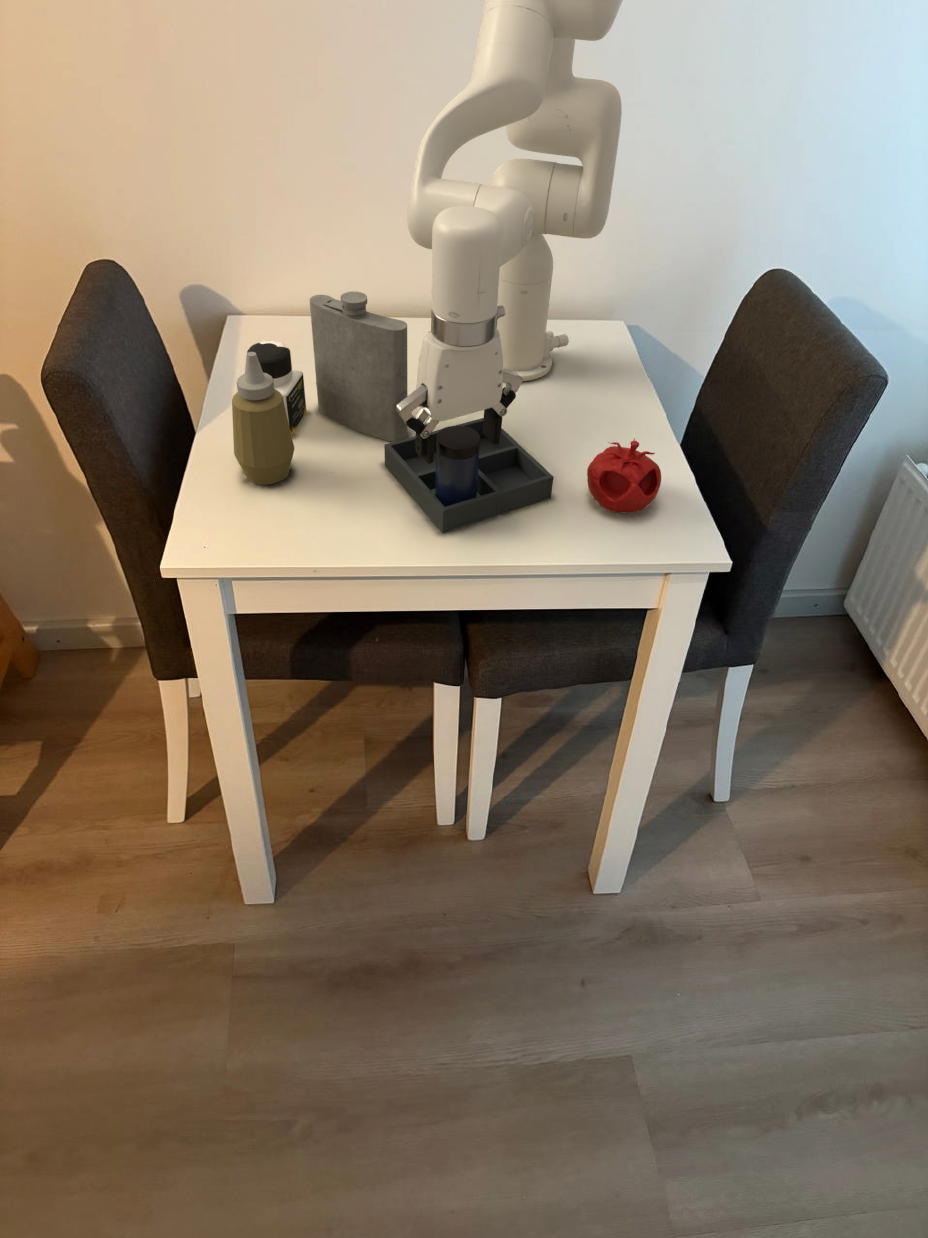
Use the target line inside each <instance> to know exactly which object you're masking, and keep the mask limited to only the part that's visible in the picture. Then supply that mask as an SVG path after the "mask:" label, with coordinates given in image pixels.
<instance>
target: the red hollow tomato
mask: <svg viewBox="0 0 928 1238" xmlns="http://www.w3.org/2000/svg"><path fill="white" fill-rule="evenodd" d="M635 439H636V437H635V438H633V440H632V441H630V446H629V447H624V446H621V444H620V443H619V442H617V441H616V442H614V441H613V442H610V441H607V443H608V444H611V445H610V446H609V447H606V448H605V449H604V450H603V451H602V452H600V453H598V454H597V455H595V456H594V458H593V459H592V461H591V462H590V463H589V465H588V467H587V469H586V476H587V479H586V480H587V486H588V491H589V493H590V495H591V496H592V498H593V499H594V501H596V502H597V504H598V506H600V507H601V508H603V509H605V510H606V511H608V512H610V513H616V514H631V513H637V512H640V511H642V510H644V509H646V508H647V507H648V506H650V505H651V503H652V502H653V501H654V500H655V499H656V497H657V496H658V492H659V491H660V487H661V485H662V484H661V483H662V471H661V468H660V467H659V465H658V463H656V462H655V461H654V460H653V459H651V458H650V457H649V456H647V455H651V456H653V455H655V454H656V452H651V451H647V450H644V451H642V452H641V451H639V450H637V449H639V447H640V442H639V441H637V440H635Z"/></svg>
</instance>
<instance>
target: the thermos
mask: <svg viewBox="0 0 928 1238" xmlns="http://www.w3.org/2000/svg"><path fill="white" fill-rule="evenodd" d="M440 429H441V430H440ZM440 429H439V430H440V431H439V432H438V433H437V436H436V472H435V496H436V497H437V499H438V500H439V501H440V502H441V503H442V504H443V505H444V506H445V507H447V506H450V505H453V504H456V503H460V502H463V501H466V500H470V499H473V498H476V497H477V484H478V468H479V453H480V435H479V434H478V432H476V431H475V430H474V429H472V428H469V427H465V426H455V425H449V426H446V427H443V428H440Z"/></svg>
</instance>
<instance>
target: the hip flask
mask: <svg viewBox="0 0 928 1238" xmlns="http://www.w3.org/2000/svg"><path fill="white" fill-rule="evenodd" d="M367 305H368V296H367V294H366V293H364V292H362V291H347V292H344V293H342V294H341V295H340V300H339V299H336V298H333V297H332V296H330V295H327V294H315V295H312V296H311V297H310V298H309V312H310V320H311V322H310V323H311V334H312V346H313V347H312V348H313V359H314V373H315V384H316V397H317V406H318V412H319V413H320V414H321V415H323V416H325V417H327V418H328V419H330V420H332V421H334V422H336V423H338V424H340V425H342V426H344V427H347V428H349V429H351V430H354V431H357V432H359V433H362V434H364V435H367V436H371V437H373V438H377V439H380V440H383V441H388V442H395V441H399V440H403V439H406V438H409V437H408V428H409V427H408V426H407V425H406V424H405V423H404V422H403V420H402V418H401V417H400V415H399V414H398V412H397V411H396V409H395V408H396V405H397V404H398V403H400V402H401V401H402V400H404V399H405V398H406V397H407V396H408V323H407V322H406V321H404V320H401V319H396V318H393V317H389V316H388V317H387V316H384V315H380V314H376V313H373V312H370V311H367Z"/></svg>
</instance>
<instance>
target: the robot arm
mask: <svg viewBox="0 0 928 1238" xmlns="http://www.w3.org/2000/svg"><path fill="white" fill-rule="evenodd" d="M623 1H624V0H484V4H483V10H482V13H481V20H480V25H479V29H478V30H479V32H478V36H477V41H476V47H475V53H474V58H473V62H472V63H473V64H472V68H471V69H472V70H471V75H470V79H469V83H468V84H467V85H466V86H465V88H463V90H461V91H460V92H459V93H457V95H456V96H454V97H453V98H452V99H451V100H449V102H448V103H447V104H446V105H445V106H444V107H443V108H442V109H441V110H440V112H439V113H438V114H437V115H436V117H435V118H434V119H433V121H432V122H431V124H430V125H429V127H428V128H427V130H426V132H425V133H424V135H423V137H422V140H421V142H420V144H419V147H418V151H417V153H416V159H415V163H414V168H413V174H412V179H411V185H410V190H409V196H408V203H407V214H406V215H407V219H406V221H407V226H408V227H407V228H408V232H409V235H410V237H411V238H412V240H413V241H414V242H415V243H416V244H417V245H418V246H420V247H422V248H425V249H427V250H431V307H430V308H431V309H430V311H431V312H430V313H431V314H430V319H431V320H430V331H427V332H425V333H424V335H423V339H422V343H421V347H420V351H419V356H418V365H417V372H416V373H417V374H416V385H415V386H416V388H415V390H413V391H412V392H411V393H410V394H409V395H407V397H406V398H405V399H404V400H402V401H401V402H400V403H398V404H397V405H396V408H395V409H396V411H397V412H398V414H399V415H400V417H401V418H402V420H403V422H404V423H405V424H406V425H407V426H408V428H409V429H410V430H412V431H413V432H414V433H415V436H416V452H417V454H418V455H419V456H420V457H422V458H423V459H424V460H425V461H426V462H427V463H428V464H431V463H433V462H434V437H433V436H432V435H431V432H432V431H435V429H436V427H437V425H438V424H439V423H440V422H445V421H448V420H453V419H457V418H460V417H463V416H467V415H470V414H474V413H479V412H482V411H483V418H484V420H483V434H484V435H485V436H486V437H487V438H488V439H489V440H490V441H491V442H492V443H493V444H499V441H500V433H501V429H503V417H504V416H506V415H507V413H508V408H509V406H510V405H511V404H512V403H513V402H514V400H515V399H516V398H517V392H518V391H519V389H520V387H521V385H522V383H523V382H528V381H533V380H537V379H539V378H542V377H544V376H545V375H547V374H548V373H549V372H550V371H551V369H552V363H553V358H552V355H551V354H550V352H553V350H554V349H556V348H557V349H559V348H563V347H566V346H568V345H569V336H568V335H567V334H566V333H563V334H559V335H556V336H555V335H554V332H553V330H549V331H547V326H548V316H549V309H550V300H551V292H552V291H551V290H552V280H553V273H554V257H553V253H552V249H551V247H550V246H549V243H548V241H547V239H546V238H545V236H544V235H552V236H558V237H559V236H560V237H567V238H573V239H584V240H585V239H588V240H589V239H593V238H596V237H597V236H599V235H600V234H601V232H602V231H603V230H604V228H605V225H606V223H607V222H606V221H607V219H608V216H609V215H608V214H609V209H610V206H611V205H610V204H611V198H612V191H613V184H614V177H615V176H614V175H615V169H616V162H617V156H618V155H617V154H618V148H619V140H620V133H621V126H622V113H623V112H622V109H623V108H622V106H623V105H622V97H621V94H620V92H619V90H618V88H617V87H616V86H615V85H614V84H613V83H611V82H609V81H605V80H602V79H596V78H585V77H577V76H575V75H574V73H573V62H574V53H575V45H576V40H579V41H587V42H588V41H589V42H596V41H600V40H602V39H604V38H605V37H606V36H607V35H608V33H609V32H610V30H612V29H611V28H612V27H613V24H614V22H615V20H616V18H617V16H618V13H619V10H620V9H621V5H622V3H623ZM503 127H505V131H506V137H507V140H508V142H510V144H511V145H512V146H514V147H515V148H517V149H519V150H523V151H527V152H532V153H540V154H547V155H554V156H555V155H556V156H563V157H571V158H576V159H578V160H579V161H580V162H581V165H579V164H569V163H561V162H560V163H559V162H557V161H548V160H540V159H532V158H514V159H510V160H506V161H505V162H502V163H501V164H500V165H499V166H498V167H497V168H496V170H495V171H494V173H493V175H492V177H491V182H490V184H483V183H477V182H471V181H470V182H469V181H462V180H456V179H455V180H454V179H448V178H447V179H446V178H443V174H444V171H445V168H446V166H447V164H448V162H449V160H450V159H451V157H452V156H453V155H455V153H456V152H457V151H458V150H459V149H460V148H461V147H463V146H464V145H465V144H467V143H468V142H470V141H472V140H474V139H476V138H478V137H480V136H482V135H485V134H488V133H489V132H492V131H495V130H498V129H501V128H503ZM504 383H506V384H505V386H504ZM418 407H419V408H420V410H419V411H418V412H417V414H416V415H415V416H414V415H413V412H414V410H416V409H417V408H418Z"/></svg>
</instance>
